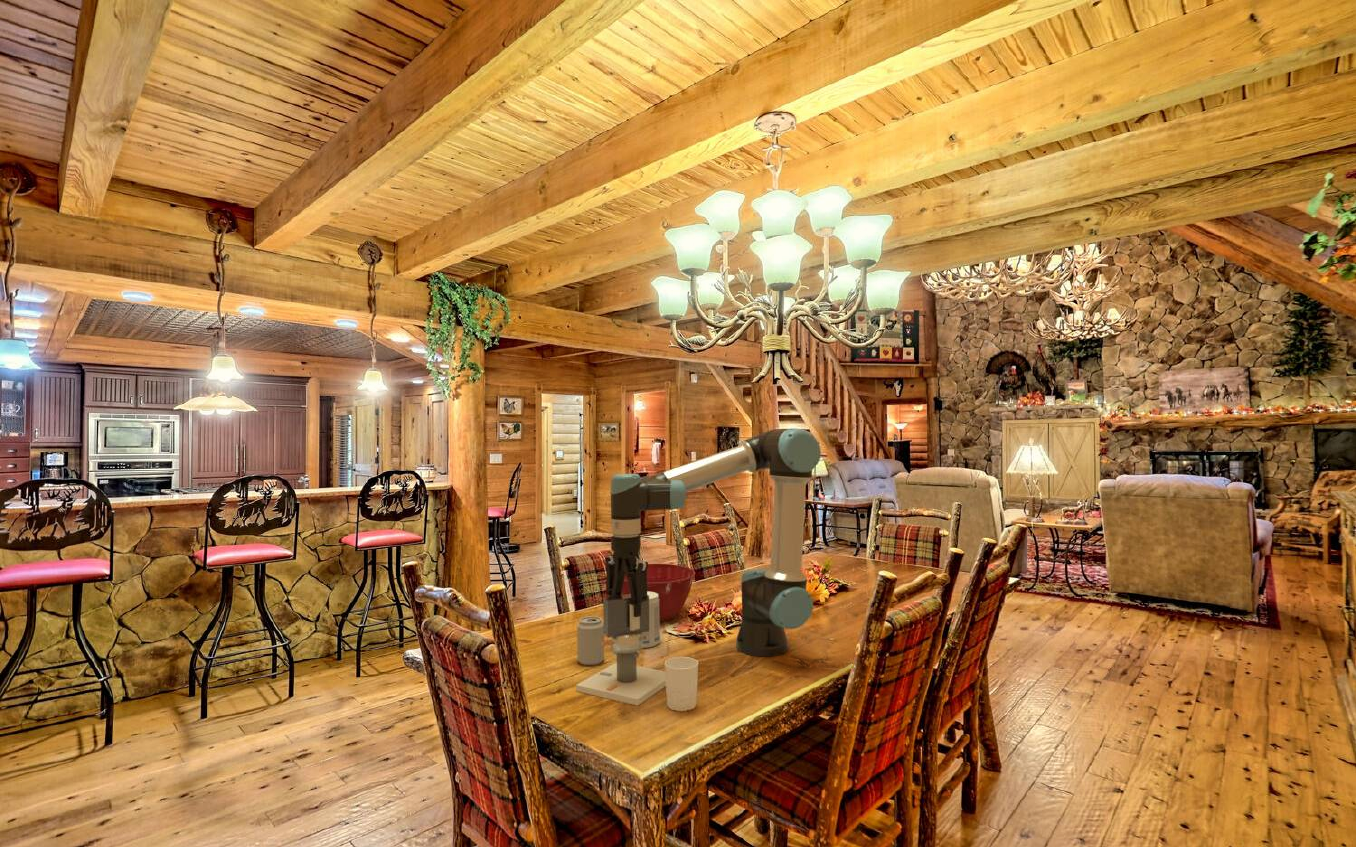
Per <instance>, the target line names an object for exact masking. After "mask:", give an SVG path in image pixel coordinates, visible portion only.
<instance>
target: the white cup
mask: <svg viewBox="0 0 1356 847" xmlns="http://www.w3.org/2000/svg"><path fill="white" fill-rule="evenodd" d="M664 671H665V683H666V686H665V693H666V706H667V707H668V708H669V709H670V710H671V711H674V710H676V711H675V712H688V711H687V710H689V711H692V710H693V709H695V708H696V706H697V695H698V680H699V679H698V678H699V677H698V676H699V674H698V673H699V661H698V660H697V659H695V658H693V657H688V656H675V657H670V658H668V659H666V660H665V661H664ZM691 709H692V710H691Z"/></svg>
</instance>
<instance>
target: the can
mask: <svg viewBox="0 0 1356 847" xmlns="http://www.w3.org/2000/svg"><path fill="white" fill-rule="evenodd" d="M602 620H603V619H602V617H600V616H595V615H594V616H592V615H590V616H584V617H581V618H580V619H579V622H578V623H577V625H576V627H577V628H576V630H577V632H576V638H577V639H576V641H577V642H576V643H577V645H576V648H577V651H576V653H577V654H576V655H577V656H576V658H577V659H576V660H577V662H579V663H580V665H582V664H583V665H582V666H586V665H588V666H589V667H591V666H590V665H593V666H597V665H599V664H601V663H602V662H603V661H604V660H605V646H602V645H601V641H605V634H604V633H603V621H602Z"/></svg>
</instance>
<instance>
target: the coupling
mask: <svg viewBox="0 0 1356 847" xmlns="http://www.w3.org/2000/svg"><path fill="white" fill-rule="evenodd" d="M602 599H603V600H602V602H603V606H602V607H603V609H602V610H603V613H602V614H603V619H602V620H603V621H602V622H603V633H604V636H606V637H607V638H610V639H608V640H604V641H601V645H602V646H604V647H607V646H610V650H611V651H612V652H613V653H614V652H616V653H622V654H628V653H635V652H637V653H639V652H640V651H642V650H643V648H642V632H648V631H649V595H647V601H645V602H642V603H641V616H640V628H639V629H636V630H633V631H631V630H630V603H631V602H632V599H631V594H628V595H619V596H604V597H602ZM636 599H637V598H636Z"/></svg>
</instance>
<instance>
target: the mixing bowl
mask: <svg viewBox="0 0 1356 847" xmlns="http://www.w3.org/2000/svg"><path fill="white" fill-rule="evenodd" d="M630 573H633V572H630ZM695 575H696V572H695V570H694V569H692V568H691V567H688V566H684V565H679V564H670V563H648V568H647V591H648V592H655V593H657V594H658V595H659V617H660V622H665V621H668V620H669V621H670V620H671V619H673V618H674V617H675V616H677V615H678V614H679V613H681V611H682V610H683V607H684V606H685V604H686V602H687V599H688V597H689V596H690V595H689V594H690V591H691V588H692V585H693V582H694V576H695ZM628 594H630V588H629V583H628V578H627V577H626V575H625V577H624V582H623V587H622V593H621V595H628Z"/></svg>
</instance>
